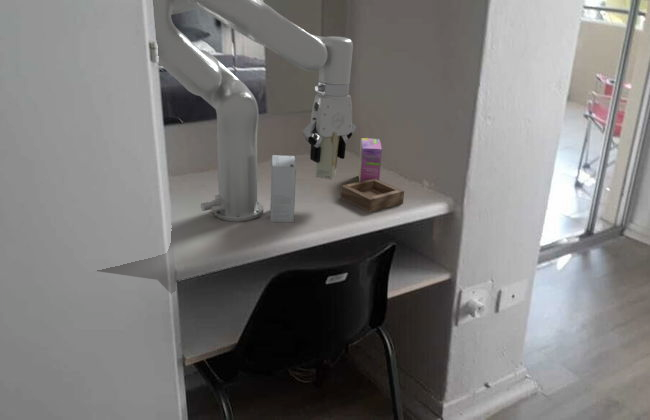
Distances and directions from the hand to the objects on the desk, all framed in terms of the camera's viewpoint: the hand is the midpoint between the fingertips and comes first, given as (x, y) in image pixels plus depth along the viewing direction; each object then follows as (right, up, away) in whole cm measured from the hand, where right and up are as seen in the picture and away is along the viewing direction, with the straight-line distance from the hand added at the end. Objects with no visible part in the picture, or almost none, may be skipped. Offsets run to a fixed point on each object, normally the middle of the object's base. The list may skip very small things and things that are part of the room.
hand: (327, 158), depth 152 cm
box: (+12, -5, +24) cm, 28 cm away
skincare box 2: (0, -4, +2) cm, 5 cm away
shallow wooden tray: (+12, -10, +10) cm, 19 cm away
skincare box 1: (-11, -15, -2) cm, 19 cm away
